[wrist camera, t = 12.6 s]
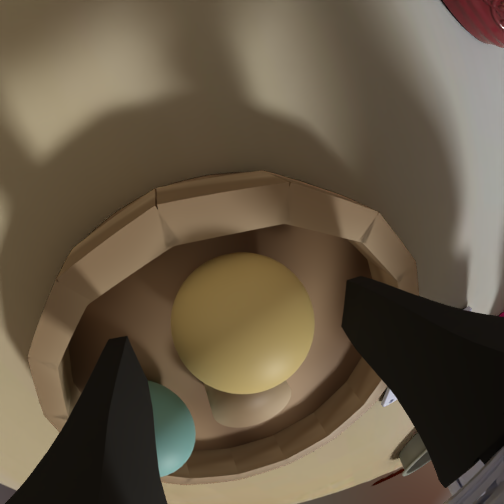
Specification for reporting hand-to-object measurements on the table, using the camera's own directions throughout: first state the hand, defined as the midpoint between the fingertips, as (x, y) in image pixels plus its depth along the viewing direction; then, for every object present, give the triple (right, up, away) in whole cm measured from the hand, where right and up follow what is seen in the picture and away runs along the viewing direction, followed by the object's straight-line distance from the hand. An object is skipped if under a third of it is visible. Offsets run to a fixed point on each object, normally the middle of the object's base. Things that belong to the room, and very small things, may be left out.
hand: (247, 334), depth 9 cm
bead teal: (-5, -4, +3) cm, 7 cm away
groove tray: (-1, -3, +5) cm, 6 cm away
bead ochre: (-1, +1, +2) cm, 3 cm away
